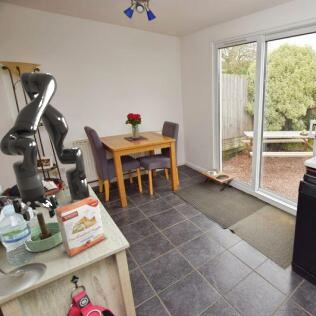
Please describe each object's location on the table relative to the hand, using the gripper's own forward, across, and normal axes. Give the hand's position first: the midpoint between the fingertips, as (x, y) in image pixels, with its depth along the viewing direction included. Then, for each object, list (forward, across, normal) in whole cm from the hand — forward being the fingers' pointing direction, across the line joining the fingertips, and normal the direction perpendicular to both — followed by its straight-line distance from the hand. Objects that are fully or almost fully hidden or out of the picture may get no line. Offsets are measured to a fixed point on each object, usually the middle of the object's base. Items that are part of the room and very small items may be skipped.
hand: (40, 218), depth 96 cm
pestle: (+12, 0, 0) cm, 12 cm away
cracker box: (+12, -17, +7) cm, 22 cm away
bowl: (+12, 0, 0) cm, 12 cm away
